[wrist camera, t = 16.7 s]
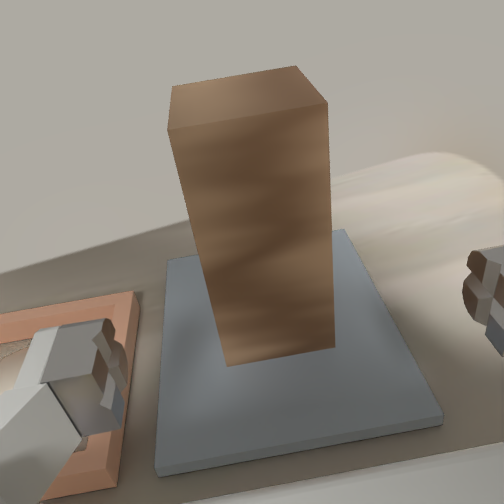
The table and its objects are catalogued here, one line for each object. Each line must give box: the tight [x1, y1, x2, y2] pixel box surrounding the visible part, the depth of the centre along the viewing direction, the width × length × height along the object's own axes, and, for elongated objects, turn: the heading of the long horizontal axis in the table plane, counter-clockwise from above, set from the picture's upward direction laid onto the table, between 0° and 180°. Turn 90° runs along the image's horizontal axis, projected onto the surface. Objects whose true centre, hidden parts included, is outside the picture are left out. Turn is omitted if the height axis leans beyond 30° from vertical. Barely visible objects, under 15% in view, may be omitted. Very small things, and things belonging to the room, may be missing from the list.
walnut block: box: [167, 66, 336, 367], centre depth 17 cm, size 4×4×10 cm
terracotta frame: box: [0, 291, 140, 501], centre depth 19 cm, size 9×9×1 cm
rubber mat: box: [154, 229, 444, 477], centre depth 20 cm, size 10×12×1 cm
